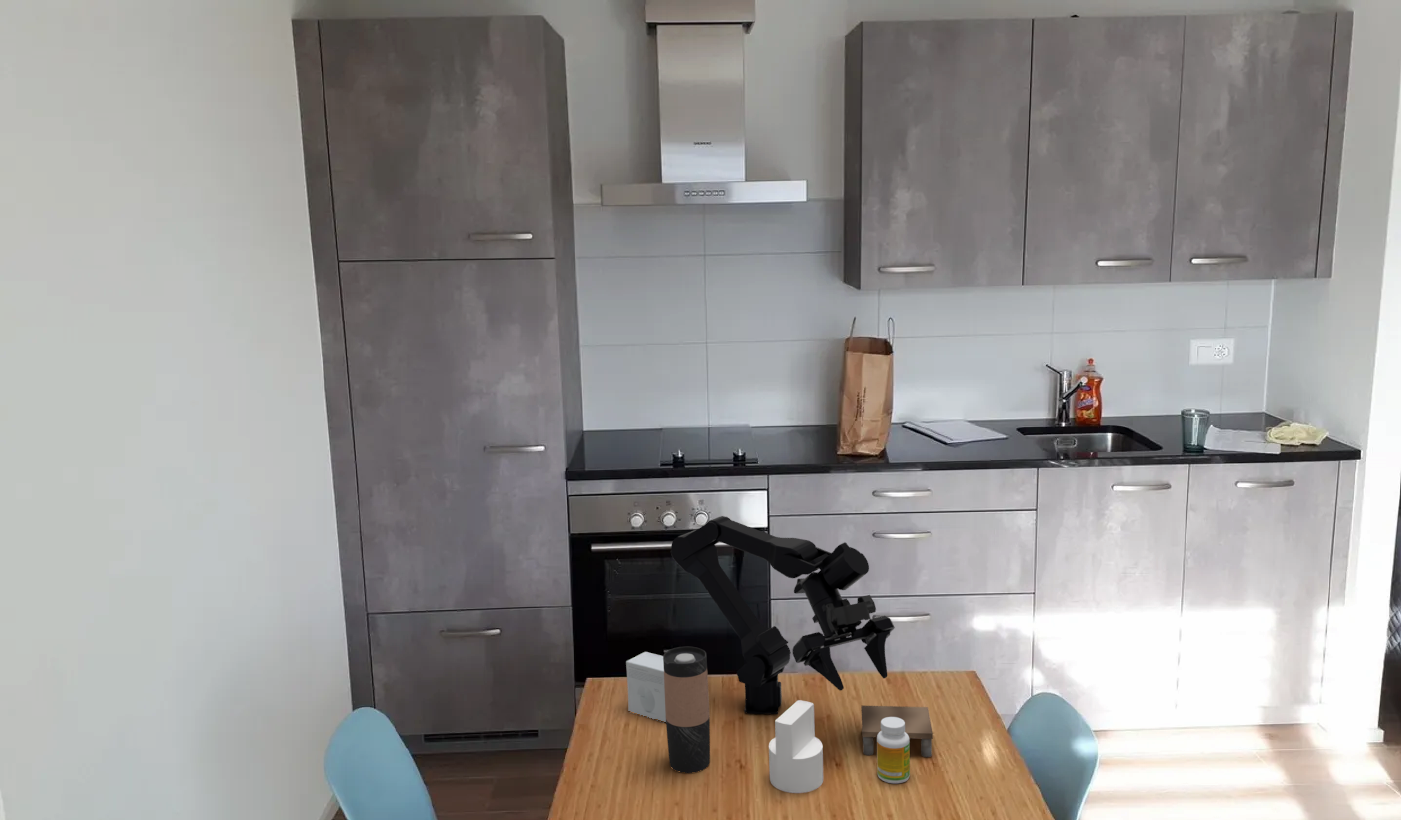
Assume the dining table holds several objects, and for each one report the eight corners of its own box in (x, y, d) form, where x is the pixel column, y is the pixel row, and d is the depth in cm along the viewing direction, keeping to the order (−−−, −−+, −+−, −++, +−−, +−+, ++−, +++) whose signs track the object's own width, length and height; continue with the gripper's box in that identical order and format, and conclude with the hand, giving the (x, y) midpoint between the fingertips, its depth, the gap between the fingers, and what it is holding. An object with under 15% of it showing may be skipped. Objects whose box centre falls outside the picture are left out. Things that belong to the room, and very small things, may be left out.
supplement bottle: (909, 785, 166) (909, 730, 165) (876, 783, 168) (876, 728, 166) (909, 768, 172) (909, 715, 170) (877, 766, 173) (877, 713, 171)
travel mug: (717, 754, 179) (712, 648, 176) (703, 776, 172) (698, 666, 168) (676, 749, 181) (671, 644, 178) (661, 770, 174) (655, 661, 171)
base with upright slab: (809, 798, 164) (807, 729, 162) (760, 784, 169) (758, 717, 167) (832, 772, 171) (830, 706, 169) (784, 760, 176) (783, 695, 174)
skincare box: (690, 711, 196) (687, 660, 194) (670, 725, 191) (667, 672, 189) (647, 699, 202) (645, 649, 200) (627, 712, 197) (624, 661, 195)
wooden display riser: (862, 755, 177) (862, 731, 176) (861, 728, 186) (861, 705, 186) (932, 757, 175) (932, 733, 174) (928, 730, 185) (928, 707, 184)
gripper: (799, 592, 172) (837, 676, 164) (888, 572, 180) (928, 652, 173) (776, 621, 180) (812, 703, 173) (862, 601, 189) (899, 678, 181)
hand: (864, 683), depth 174 cm, fingers open, 9 cm apart
